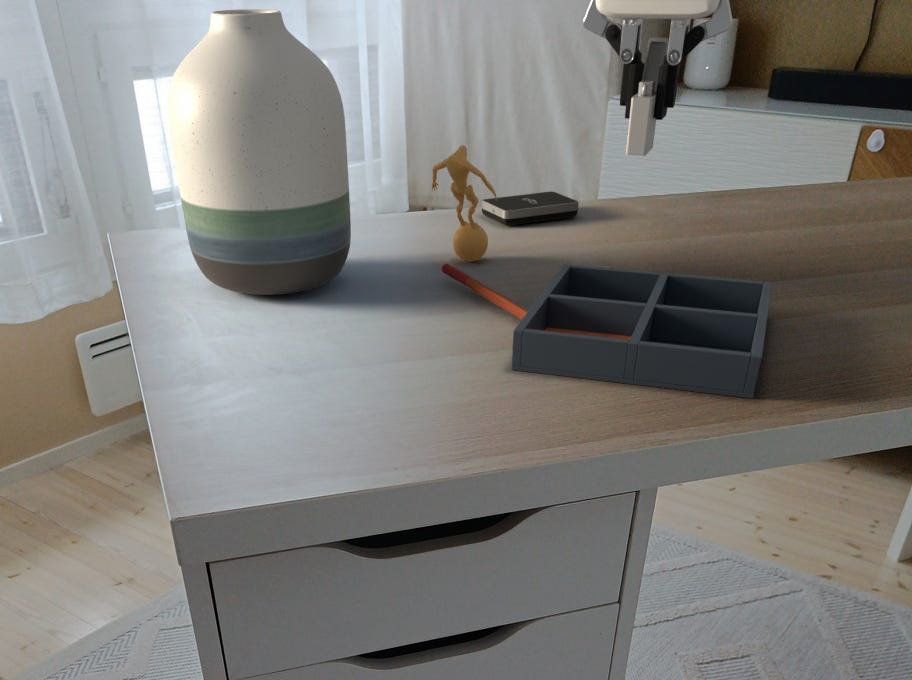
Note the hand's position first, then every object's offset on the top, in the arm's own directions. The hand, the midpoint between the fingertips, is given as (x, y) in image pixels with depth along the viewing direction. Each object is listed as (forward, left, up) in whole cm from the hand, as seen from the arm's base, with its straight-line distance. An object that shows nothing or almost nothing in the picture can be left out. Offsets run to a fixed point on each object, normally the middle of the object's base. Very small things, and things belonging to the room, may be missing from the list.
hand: (645, 115), depth 79 cm
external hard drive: (+18, -33, -17) cm, 41 cm away
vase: (+37, +2, -17) cm, 41 cm away
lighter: (0, 0, -3) cm, 3 cm away
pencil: (+13, +3, -16) cm, 21 cm away
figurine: (+20, -11, -17) cm, 28 cm away
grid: (-3, +8, -17) cm, 19 cm away
